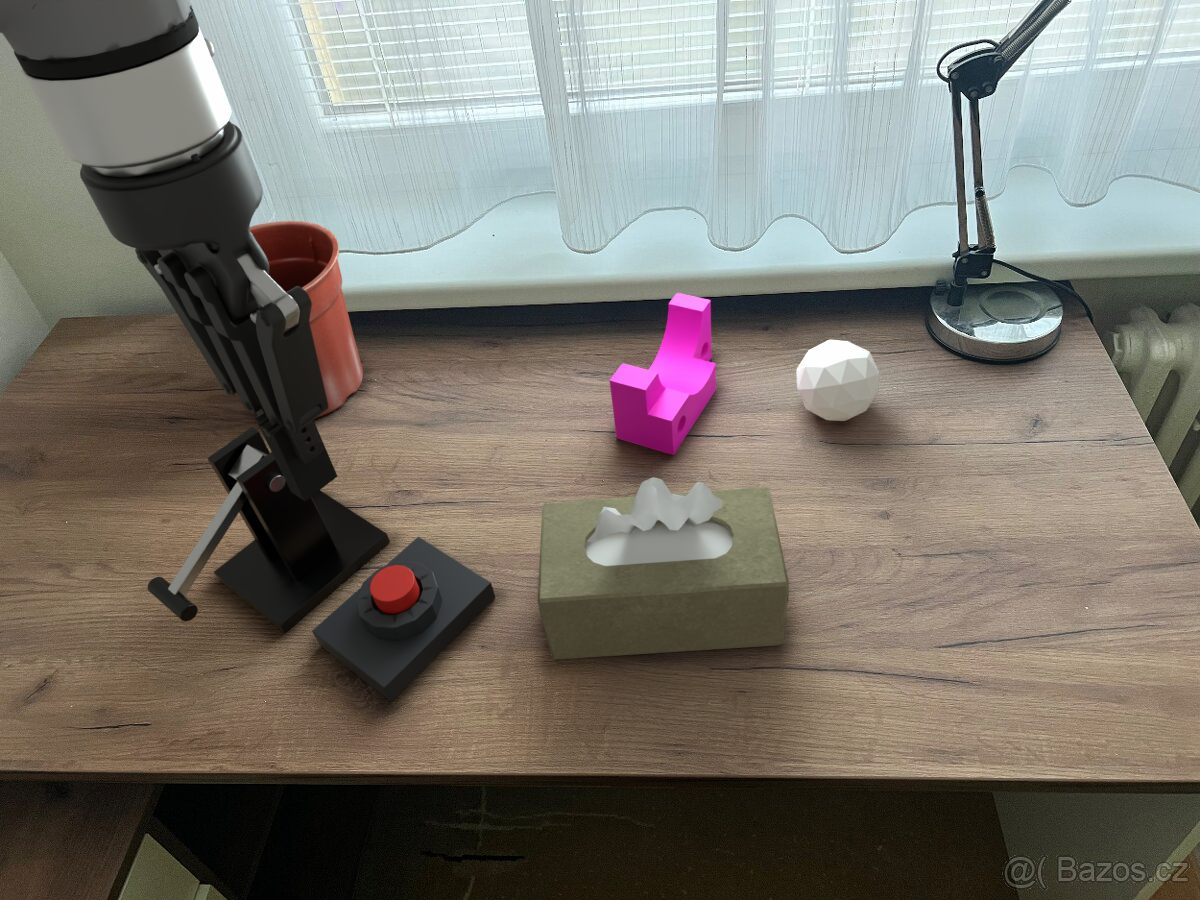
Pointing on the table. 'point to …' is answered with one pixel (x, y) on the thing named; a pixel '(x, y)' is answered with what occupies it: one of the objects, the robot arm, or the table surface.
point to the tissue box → (662, 572)
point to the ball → (837, 380)
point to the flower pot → (316, 298)
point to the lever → (204, 544)
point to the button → (394, 589)
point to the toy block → (668, 381)
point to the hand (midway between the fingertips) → (314, 483)
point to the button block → (405, 620)
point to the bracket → (289, 539)
